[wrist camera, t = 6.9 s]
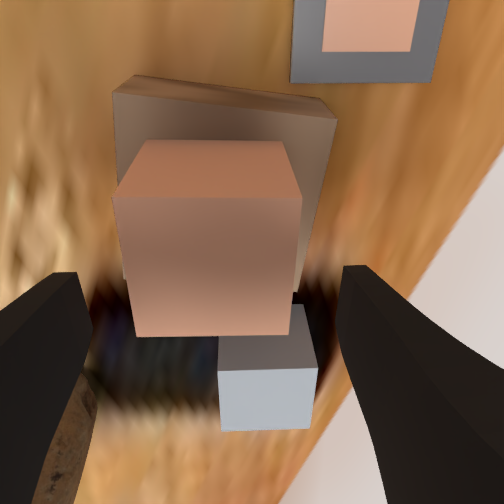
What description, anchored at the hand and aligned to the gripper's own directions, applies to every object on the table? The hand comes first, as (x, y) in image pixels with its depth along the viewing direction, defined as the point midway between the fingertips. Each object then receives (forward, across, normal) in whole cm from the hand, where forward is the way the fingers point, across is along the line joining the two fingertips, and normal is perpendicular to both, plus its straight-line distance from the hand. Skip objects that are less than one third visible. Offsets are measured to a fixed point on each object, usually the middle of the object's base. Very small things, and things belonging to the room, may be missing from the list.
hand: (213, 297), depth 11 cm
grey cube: (+10, -2, +11) cm, 15 cm away
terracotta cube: (+6, 0, 0) cm, 6 cm away
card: (+10, -6, -7) cm, 13 cm away
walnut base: (+10, 0, 0) cm, 10 cm away
